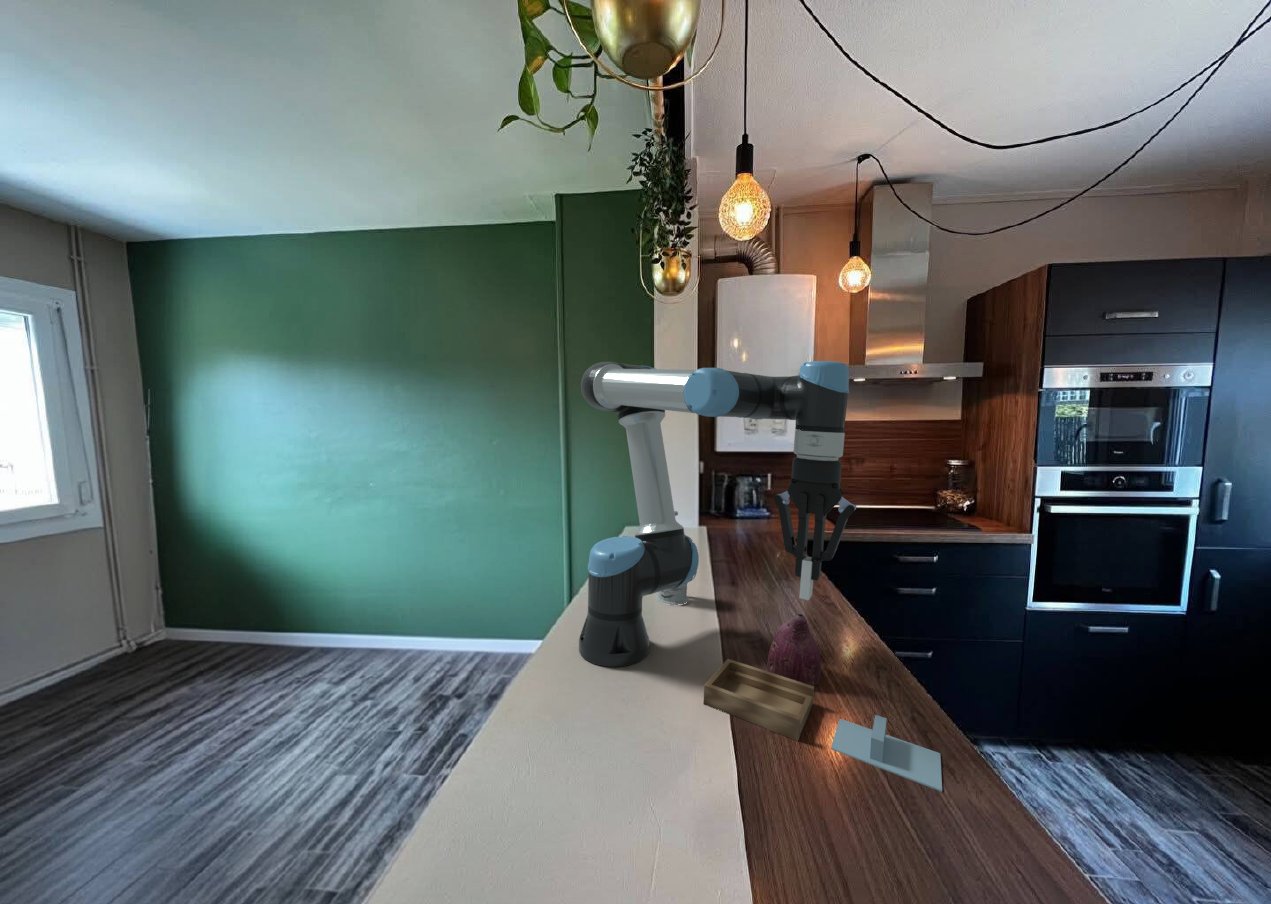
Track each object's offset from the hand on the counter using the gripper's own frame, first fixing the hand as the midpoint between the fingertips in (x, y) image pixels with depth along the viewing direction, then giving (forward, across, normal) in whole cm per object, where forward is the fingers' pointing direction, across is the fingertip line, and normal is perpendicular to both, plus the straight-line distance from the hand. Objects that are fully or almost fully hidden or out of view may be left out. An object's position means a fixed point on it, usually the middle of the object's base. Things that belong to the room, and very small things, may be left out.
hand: (805, 596), depth 75 cm
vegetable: (+21, -3, +12) cm, 24 cm away
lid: (+21, +14, -2) cm, 25 cm away
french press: (+22, -40, +32) cm, 56 cm away
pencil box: (+21, -6, -2) cm, 21 cm away
